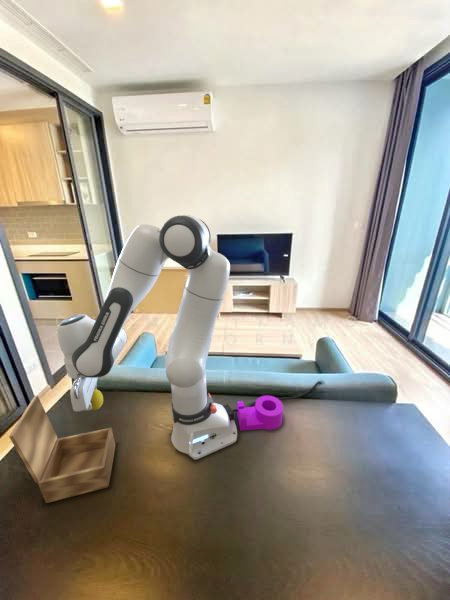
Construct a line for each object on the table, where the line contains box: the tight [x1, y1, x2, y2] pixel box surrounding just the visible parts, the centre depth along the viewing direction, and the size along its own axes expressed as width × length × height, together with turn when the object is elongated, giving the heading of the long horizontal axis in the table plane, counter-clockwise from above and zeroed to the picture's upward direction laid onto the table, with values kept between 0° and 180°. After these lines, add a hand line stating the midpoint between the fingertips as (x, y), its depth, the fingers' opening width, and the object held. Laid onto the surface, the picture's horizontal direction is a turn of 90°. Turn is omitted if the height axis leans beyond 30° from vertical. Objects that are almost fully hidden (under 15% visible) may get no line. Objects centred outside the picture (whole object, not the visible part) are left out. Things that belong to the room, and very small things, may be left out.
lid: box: [8, 395, 58, 484], centre depth 66 cm, size 16×14×1 cm
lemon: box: [90, 388, 104, 412], centre depth 82 cm, size 6×6×8 cm
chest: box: [37, 427, 116, 504], centre depth 73 cm, size 16×14×8 cm
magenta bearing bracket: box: [236, 394, 284, 432], centre depth 91 cm, size 16×10×6 cm, turn 96°
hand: (91, 400), depth 81 cm, fingers closed on lemon, 5 cm apart
